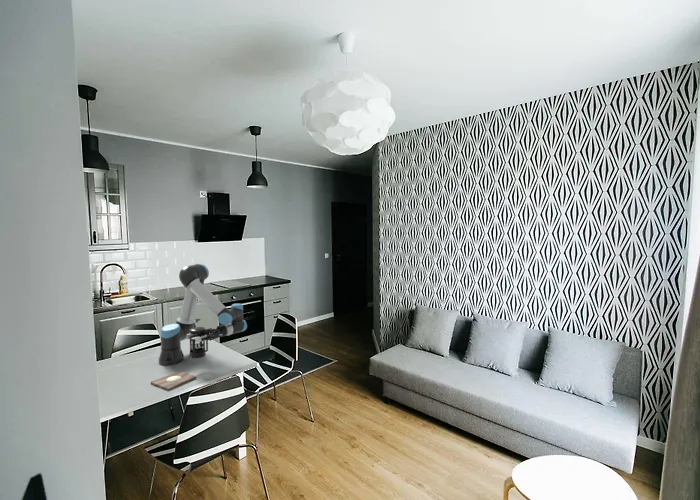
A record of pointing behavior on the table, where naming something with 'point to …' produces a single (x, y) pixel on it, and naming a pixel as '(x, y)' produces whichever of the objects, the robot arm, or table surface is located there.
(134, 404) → the table surface
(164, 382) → the board
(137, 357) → the table surface
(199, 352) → the french press
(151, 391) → the table surface
